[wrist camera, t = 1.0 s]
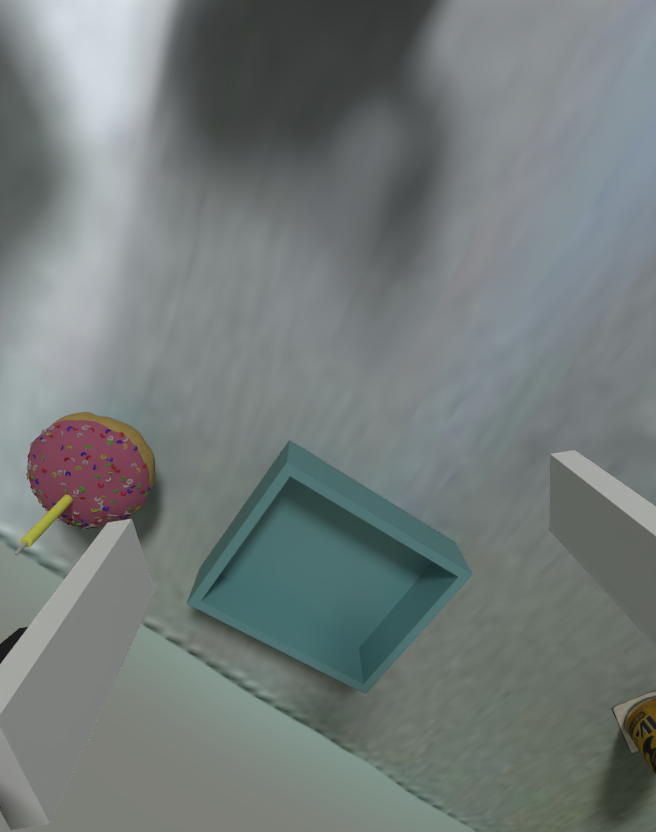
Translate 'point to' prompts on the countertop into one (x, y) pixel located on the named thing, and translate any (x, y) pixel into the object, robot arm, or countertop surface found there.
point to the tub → (328, 571)
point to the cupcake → (88, 472)
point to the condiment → (639, 725)
